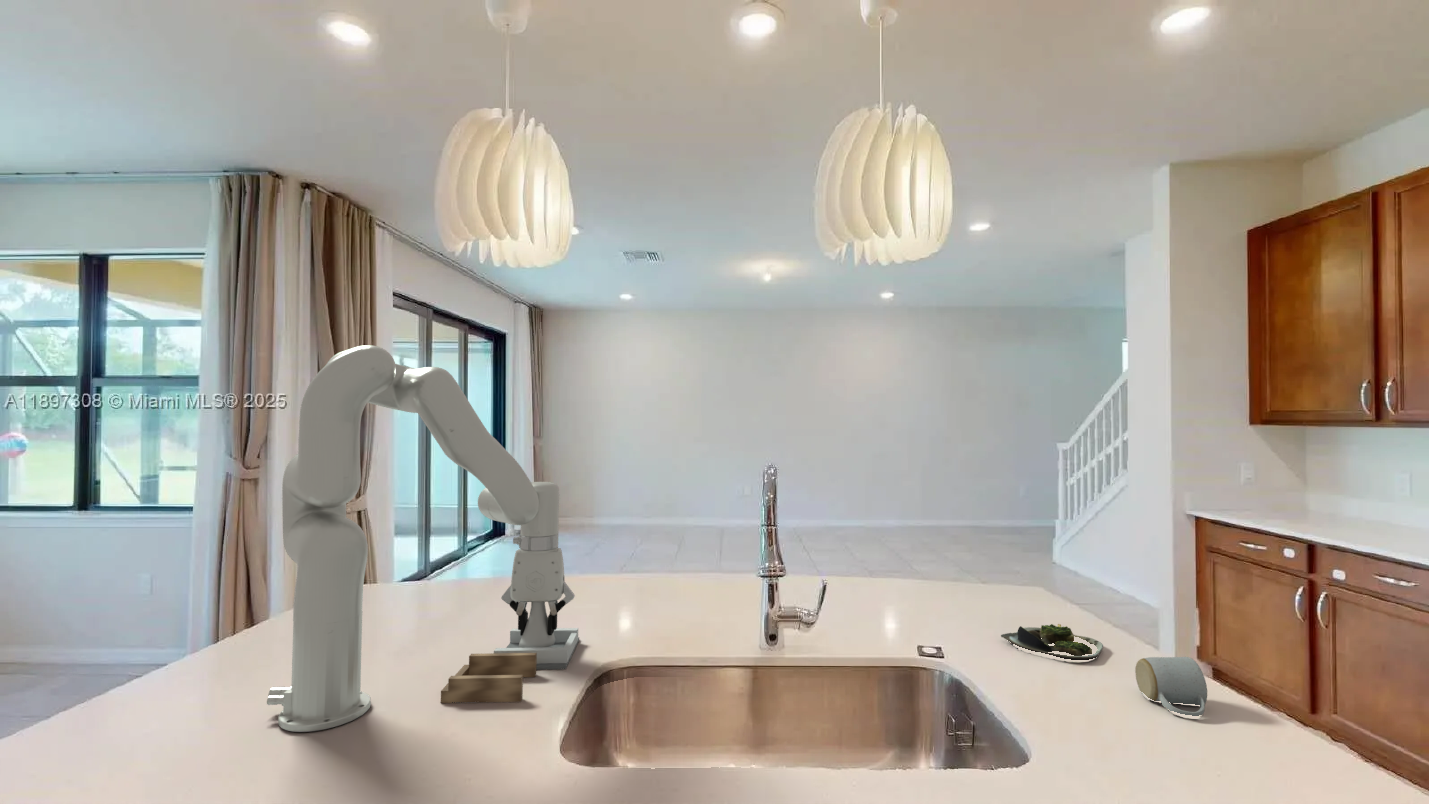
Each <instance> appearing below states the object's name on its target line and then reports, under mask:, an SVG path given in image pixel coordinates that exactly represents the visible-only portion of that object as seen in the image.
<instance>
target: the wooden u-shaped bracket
mask: <svg viewBox="0 0 1429 804" xmlns="http://www.w3.org/2000/svg"><path fill="white" fill-rule="evenodd" d="M536 664H537V653H494V652H492V653H490V652H489V653H470V655H468V664H463V666H462V667H461V668H460V669H459V670H458V671H457V672H456V673H455V675H450V676H449V678H448V679H447V680H448V682H447V684H446V685H445V686H444V687H443V688H442V689H441V690H440V704H457V703H456V702H460V703H461V702H462V703H461V704H463V702H464V703H465V702H466V703H465V704H467V702H476V703H519V702H520V703H521V702H522V700H523V697H524V695H523V689H524V688H523V687H524V686H523V685H524V684H523V683H524V682H523V681H524V680H523V678H535V677H536V676H537V670H536ZM452 702H453V703H452ZM454 702H455V703H454ZM460 703H459V704H460Z"/></svg>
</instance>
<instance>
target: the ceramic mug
mask: <svg viewBox="0 0 1429 804" xmlns="http://www.w3.org/2000/svg"><path fill="white" fill-rule="evenodd" d="M1134 671H1135V680H1136V684H1137V687H1138V689H1139V691H1141V692H1143V693H1144V694H1145V695H1146V696H1147V697H1148V698H1150V699H1152V700H1154V701H1161V703H1162V704H1161V705H1162V706H1163V707H1164V708H1165V707H1166V708H1167V709H1169V710H1170V711H1174V712H1177V713H1180V714H1185V715H1192V716H1199V715H1202V714H1203V713H1205V709H1206V706H1205V705H1206V703H1207V701H1208V687H1207V683H1206V678H1205V675H1204V672H1203V671H1202V669H1201V667H1200V665H1199V664H1198V663H1197V662H1196V660H1194V659H1193V658H1192V657H1189V656H1174V657H1173V656H1172V657H1170V656H1168V657H1167V656H1164V657H1163V656H1161V657H1160V656H1156V657H1155V656H1150V657H1143V658H1140V659H1138V661H1137V662H1136V664H1135V670H1134ZM1141 692H1140V693H1141ZM1169 702H1170V703H1183V704H1195V705H1200V707H1199V709H1198V710H1197V711H1186V710H1183V709H1180V708H1178V707H1175V705H1173V704H1170V703H1169ZM1166 708H1165V709H1166ZM1167 709H1166V710H1167ZM1203 715H1204V714H1203Z"/></svg>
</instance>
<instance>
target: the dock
mask: <svg viewBox="0 0 1429 804" xmlns="http://www.w3.org/2000/svg"><path fill="white" fill-rule="evenodd" d="M553 633H554V636H555V639H556V640H555V643H554V645H552V646H549V647H545V648H521V647H518V646H519V643H520V640H521V638H522V636H521V635H520V630H518V628H511V629H510V630H509V644H508V645H507V646H506V647H496V648H495V649H493V653H537V664H536V671H537V670H539V671H541V670H546V669H547V670H548V671H549V670H566V669H567V667H568V666H569V663H570V661H571V659H572V656H573V655H574V653H575V650H576V648H577V646H578V644H579V641H580V637H579V627H557V629H556V630H554V632H553ZM547 670H546V671H547Z"/></svg>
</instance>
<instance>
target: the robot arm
mask: <svg viewBox="0 0 1429 804" xmlns="http://www.w3.org/2000/svg"><path fill="white" fill-rule="evenodd" d="M303 394H304V395H303V396H302V397H303V398H302V400H301V404H300V410H299V422H298V424H299V425H298V448H297V449H298V451H297V454H296V455H295V456H294V457H292V458H291V459H290V461H288V463H287V465H286V466H285V469H284V473H283V476H282V477H283V478H282V483H281V484H282V487H281V488H282V490H281V496H282V498H281V499H282V500H281V501H282V503H281V504H282V507H281V509H282V513H281V514H282V539H283V540H282V541H283V545H284V546H283V548H284V550H285V552H286V554H287V555H288V557H289V558H290V559H291V560H292V561H293V562H294V563H296V564H297V565H296V566H297V567H296V568H297V569H296V582H295V586H294V594H293V595H294V596H293V605H292V606H293V607H292V608H293V609H292V610H293V611H292V622H293V623H292V651H291V653H292V654H291V655H292V658H291V659H292V661H291V686H289V687H287V686H273V687H271V688H270V689H269V692H268V697H267V699H266V705H268V706H277V705H281V706H282V710H281V711H280V713H279V714H278V719H277V720H278V721H277V723H278V726H279V727H280V728H281V729H282V730H285V731H289V732H295V733H307V732H317V731H322V730H324V731H325V730H329V729H332V728H335V727H338V726H342V725H345V724H347V723H350V722H353V721H354V720H356V719H358V718H359V717H361V716H363V715H364V714H366V712H367V711H369V709H370V707H371V706H372V705H371V704H372V698H371V696H370V695H369V694H368V693H366V692H364V691H361V685H362V683H361V681H362V676H361V675H362V645H363V644H362V642H363V641H362V640H363V601H364V599H363V597H364V596H363V595H364V594H363V593H364V585H365V583H364V582H365V575H366V570H367V563H368V556H369V545H368V539H367V535H366V534H365V531H363V529H362V527H361V526H360V525H359V524H358V523H357V522H355V521H354V520H353V519H351V518H349V517H347V503H349V502H351V501H352V500H353V499H354V498H355V497H356V495H357V493H358V492H359V489H360V487H361V483H362V474H361V473H362V472H361V442H360V441H361V438H360V437H361V420H362V415H363V412H364V409H365V407H366V405H367V404H372V405H374V406H378V407H379V406H380V407H383V408H388V409H392V410H397V411H399V412H400V411H401V412H404V413H405V412H406V413H411V414H418V416H419V417H420V418H421V420H422V422H423V423H424V425H425V426H426V428H427V429H428V430H429V432H430V434H431V436H432V437H433V438H434V439H435V441H436V443H437V444H438V445H439V448H440V449H441V450H442V452H443V453H444V455H445V456H446V457H447V458H448V459H449V460H451V461H452V462H453V463H454V464H455V465H458V467H460V468H462V469H464V470H466V472H468V473H469V474H472V475H473V476H474V477H475V478H476V479H477V480H478V481H479V483H481V484H482V485H483V486H484V488H483V489H482V491H480V493H479V495H478V498H477V507H478V510H479V512H480V513H481V514H482V515H483V516H484V517H485V518H487V519H489V520H492V521H496V522H499V523H503V524H508V525H511V526H520V535H518V536H515V537H513V540H512V544H513V545H518V547H519V549H518V548H517V550H515V554H514V558H513V564H512V571H511V580H510V581H511V582H510V585H509V586H508V588H507V589H506V590H505V592H504V593H503V594H502V595H501V600H502V601H503V602H505V603H506V604H507V605H509V607H510V608H511V609H512V610H513V611H514V612H515V614H516V616H518V617H517V629H518V630H520V635H521V636H522V635H523V633H524V630H525V627H526V624H527V621H528V618H529V612H528V611H527V609H526V608H527V606H528V605H527V604H528V603H531V602H545V603H548V607H549V610H550V611H549V615H547V616H548V635H552V634H553V632H554V630H556V629H557V628H558V613H559V612H560V611H561V610H562V609H563V608H564V606H566V605H567V604H569V603H570V602H572V601H573V600H574V598H575V597H576V595H575V593H574V592H573V591H572V590H571V588H570V586H569V585H568V584H567V583H566V580H565V566H564V565H565V564H564V556H563V552H562V548H560V547H559V529H560V527H559V526H560V524H559V523H560V518H559V517H560V487H559V485H558V484H557V483H555V482H550V481H532V482H531V480H530V478H529V476H528V475H527V474H526V472H525V470H524V469H523V467H522V466H521V465H520V463H519V462H518V461H517V459H515V457H513V455H512V454H511V453H510V452H508V450H506V448H505V447H504V446H503V445H502V444H501V443H500V442H499V441H498V439H496V438H495V437H494V436H492V434H491V433H489V431H488V429H487V428H486V427H485V425H484V423H483V422H482V420H481V418H480V417H479V416H478V414H477V412H476V411H475V409H474V408H473V406H472V404H471V403H470V401H469V399H468V398H467V395H465V393H464V392H463V390H462V388H461V387H460V385H459V383H458V382H457V380H456V379H455V377H453V375H452V374H451V373H450V372H449V371H448V370H446V369H444V368H441V367H438V366H425V367H419V368H418V367H416V368H415V367H410V366H405V365H403V364H398V363H396V362H395V359H394V357H393V356H392V354H391V353H390V352H388V350H386V349H384V348H383V347H380V346H377V345H373V344H372V345H369V344H367V345H359V346H358V345H357V346H355V347H354V346H353V347H352V348H348V349H345V350H343V351H340V352H337V353H336V354H334V355H333V356H332V357H331V358H329V359H328V361H327V363H326V364H325V366H324V367H322V368H321V369H320V370H319V371H318V372H317V373H316V375H315V376H313V379H312V380H311V381H310V383H309V384H308V386H307V387H306V390H305V392H304V393H303ZM563 595H564V596H565V597H563V598H562V596H563ZM561 598H562V599H561ZM560 599H561V600H560ZM559 600H560V601H559Z"/></svg>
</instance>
